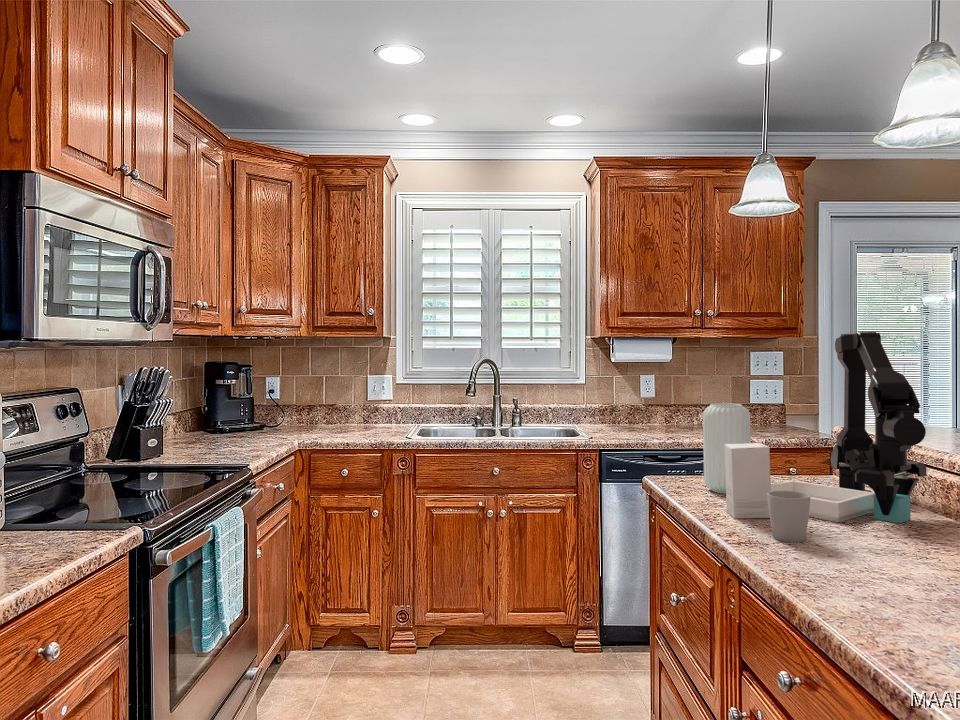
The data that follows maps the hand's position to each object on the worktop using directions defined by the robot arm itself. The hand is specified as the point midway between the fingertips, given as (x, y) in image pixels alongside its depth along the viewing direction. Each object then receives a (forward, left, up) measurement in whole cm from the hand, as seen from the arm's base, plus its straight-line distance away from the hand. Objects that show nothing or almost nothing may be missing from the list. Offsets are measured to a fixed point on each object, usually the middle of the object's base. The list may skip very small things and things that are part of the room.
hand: (891, 513), depth 144 cm
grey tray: (+3, -15, -1) cm, 16 cm away
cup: (+29, -5, -2) cm, 30 cm away
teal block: (0, 0, -1) cm, 1 cm away
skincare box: (+20, -20, -2) cm, 29 cm away
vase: (+1, -39, -2) cm, 40 cm away
